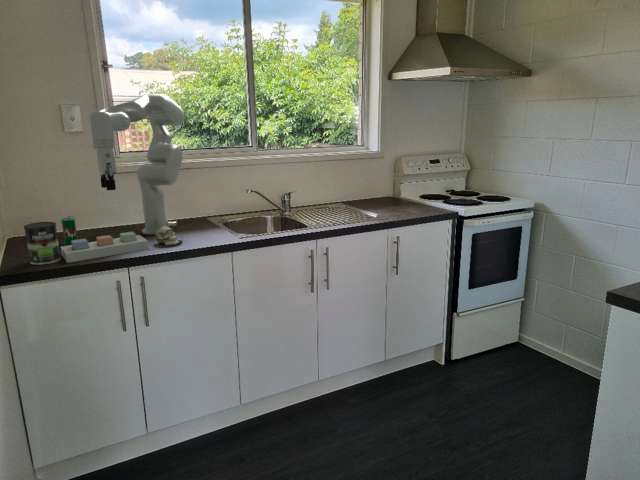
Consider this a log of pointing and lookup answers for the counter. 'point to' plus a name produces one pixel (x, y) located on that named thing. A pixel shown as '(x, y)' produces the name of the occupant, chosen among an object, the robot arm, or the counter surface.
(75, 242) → the slate key
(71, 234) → the soda can
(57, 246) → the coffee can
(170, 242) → the skull
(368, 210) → the counter surface
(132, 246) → the keypad housing
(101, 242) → the terracotta key
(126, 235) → the sage key
